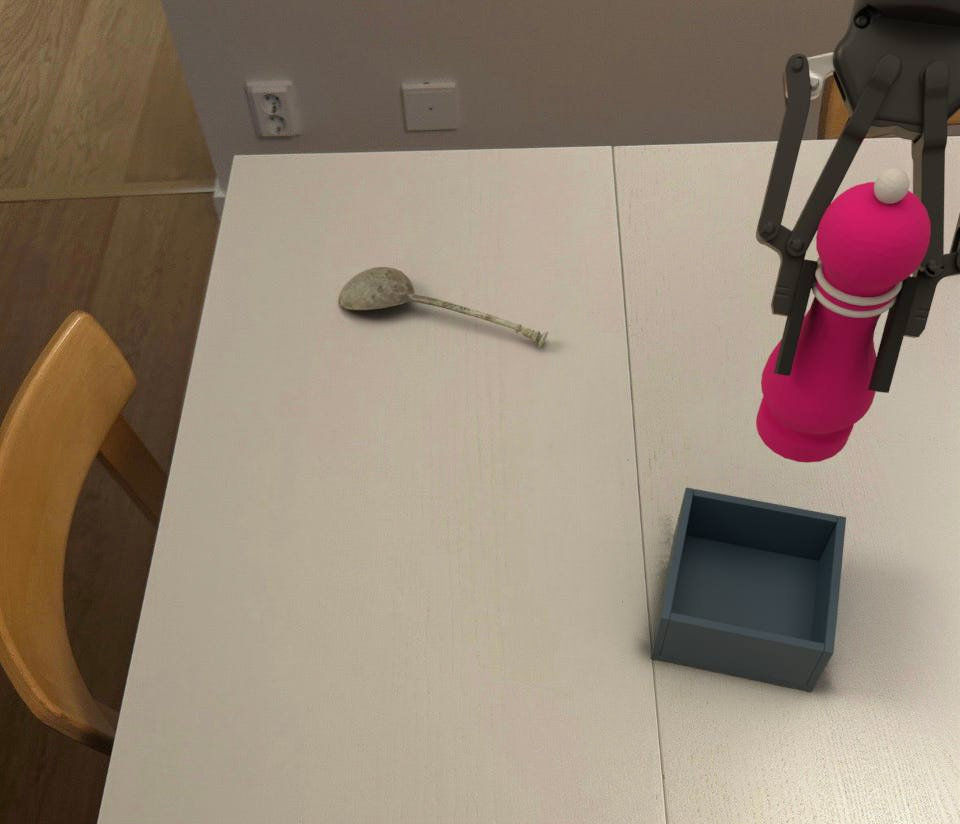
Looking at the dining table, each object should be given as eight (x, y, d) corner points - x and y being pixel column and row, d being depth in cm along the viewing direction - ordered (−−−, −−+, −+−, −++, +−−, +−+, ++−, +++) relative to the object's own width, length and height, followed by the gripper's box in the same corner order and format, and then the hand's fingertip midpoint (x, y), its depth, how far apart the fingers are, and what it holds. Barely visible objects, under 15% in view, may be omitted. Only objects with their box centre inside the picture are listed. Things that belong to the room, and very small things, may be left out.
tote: (825, 561, 90) (846, 516, 85) (811, 692, 84) (833, 653, 78) (674, 532, 92) (685, 486, 87) (650, 658, 86) (660, 617, 80)
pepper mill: (855, 396, 74) (964, 136, 57) (855, 476, 71) (971, 224, 53) (750, 383, 75) (827, 122, 58) (745, 461, 71) (825, 208, 54)
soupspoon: (358, 273, 110) (330, 317, 107) (352, 247, 107) (323, 292, 104) (557, 324, 105) (533, 371, 102) (557, 298, 102) (532, 346, 99)
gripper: (1086, -5, 60) (968, 408, 66) (766, -44, 63) (680, 357, 69) (1141, -57, 53) (1003, 412, 59) (777, -99, 55) (680, 355, 61)
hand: (829, 382), depth 64 cm, fingers closed on pepper mill, 5 cm apart
